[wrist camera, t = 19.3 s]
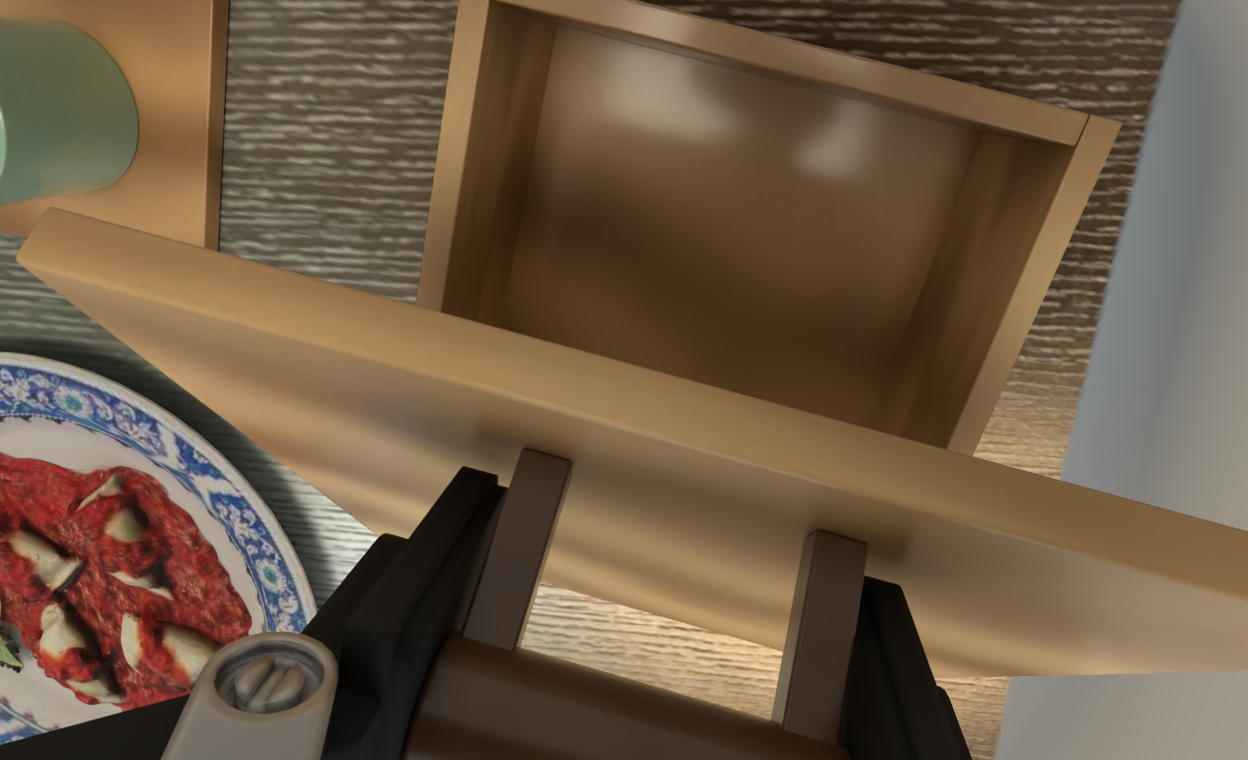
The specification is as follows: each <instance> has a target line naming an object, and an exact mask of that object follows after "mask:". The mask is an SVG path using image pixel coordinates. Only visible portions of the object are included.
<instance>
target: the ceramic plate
mask: <svg viewBox="0 0 1248 760" xmlns="http://www.w3.org/2000/svg"><path fill="white" fill-rule="evenodd" d="M316 614H317V608H316V604H315V601H314V597H313V593H312V590H311V587H310V585H309V582H308V579H307V577H306V574H305V571H304V569H303V567H302V564H301V562H300V560H299V558H298V556H297V554H296V552H295V550H294V548H293V546H292V544H291V542H290V541H289V539H288V537H287V536H286V534H285V532H284V531H283V529H282V528H281V526H280V524H279V523H278V521H277V519H276V518H275V516H274V514H273V513H272V511H271V510H270V508H269V507H268V506H267V505H266V503H265V502H264V501H263V500H262V498H261V497H260V496H259V495H258V493H257V492H256V491H255V490H254V489H253V487H252V486H251V485H250V484H249V482H248V481H247V480H246V479H245V478H244V476H243V475H242V474H241V473H240V472H239V471H238V470H237V469H236V468H235V467H234V466H233V465H232V464H231V463H230V462H229V461H228V460H227V459H226V458H225V457H224V456H223V455H222V454H221V453H220V452H219V451H218V450H217V449H216V448H215V447H213V446H212V445H211V444H210V443H209V442H208V441H207V440H205V439H204V438H203V437H202V436H201V435H200V434H199V433H197V432H196V431H195V430H193V429H192V428H191V427H189V426H188V425H187V424H185V423H184V422H183V421H181V420H180V419H179V418H177V417H176V416H175V415H173V414H172V413H170V412H168V411H167V410H165V409H164V408H162V407H161V406H159V405H157V404H156V403H154V402H153V401H151V400H150V399H148V398H146V397H144V396H142V395H141V394H139V393H137V392H135V391H133V390H131V389H129V388H127V387H126V386H124V385H122V384H120V383H117V382H115V381H113V380H111V379H108V378H106V377H104V376H101V375H99V374H97V373H94V372H92V371H89V370H86V369H83V368H80V367H77V366H74V365H71V364H68V363H65V362H61V361H56V360H52V359H48V358H44V357H40V356H34V355H27V354H21V353H14V352H0V745H1V744H5V743H8V742H12V741H16V740H19V739H23V738H27V737H31V736H34V735H38V734H42V733H45V732H49V731H53V730H57V729H60V728H64V727H68V726H72V725H75V724H79V723H83V722H86V721H90V720H94V719H98V718H101V717H105V716H109V715H112V714H116V713H120V712H124V711H127V710H131V709H135V708H138V707H142V706H146V705H150V704H153V703H157V702H161V701H164V700H168V699H172V698H176V697H179V696H183V695H187V694H191V692H192V689H193V687H194V685H195V683H196V681H197V678H198V676H199V674H200V672H201V670H202V669H203V667H204V666H205V664H206V663H207V661H208V660H209V659H210V657H211V656H212V655H214V654H215V653H216V652H218V651H219V650H220V649H221V648H223V647H224V646H225V645H227V644H229V643H231V642H234V641H236V640H238V639H240V638H243V637H245V636H249V635H254V634H258V633H263V632H280V631H287V632H292V633H298V634H300V633H301V632H302V631H303V630H304V628H305V627H306V626H307V625H308V623H309V622H310V621H311V620H312V618H313V617H314V616H315V615H316Z"/></svg>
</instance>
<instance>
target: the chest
mask: <svg viewBox="0 0 1248 760" xmlns="http://www.w3.org/2000/svg"><path fill="white" fill-rule="evenodd" d="M1121 125H1122V122H1121V121H1117V120H1113V119H1109V118H1105V117H1101V116H1097V115H1093V114H1086V113H1084V112H1080V111H1076V110H1072V109H1068V108H1064V107H1060V106H1056V105H1052V104H1048V103H1044V102H1040V101H1036V100H1032V99H1028V98H1025V97H1021V96H1017V95H1013V94H1009V93H1005V92H1001V91H997V90H993V89H989V88H985V87H981V86H977V85H973V84H969V83H965V82H961V81H957V80H953V79H949V78H945V77H941V76H937V75H933V74H929V73H925V72H921V71H917V70H913V69H909V68H905V67H901V66H897V65H893V64H889V63H885V62H881V61H877V60H873V59H869V58H865V57H861V56H857V55H853V54H849V53H845V52H841V51H837V50H833V49H829V48H825V47H821V46H817V45H813V44H809V43H805V42H801V41H797V40H793V39H789V38H785V37H781V36H777V35H773V34H769V33H765V32H761V31H757V30H753V29H749V28H745V27H741V26H737V25H733V24H729V23H725V22H721V21H717V20H713V19H709V18H705V17H701V16H697V15H693V14H689V13H685V12H681V11H677V10H673V9H669V8H665V7H662V6H658V5H654V4H650V3H646V2H642V1H638V0H459V5H458V12H457V19H456V26H455V33H454V40H453V47H452V54H451V61H450V68H449V75H448V82H447V89H446V96H445V104H444V111H443V118H442V125H441V132H440V139H439V146H438V153H437V160H436V167H435V174H434V181H433V188H432V195H431V202H430V209H429V216H428V223H427V230H426V237H425V244H424V251H423V258H422V265H421V272H420V279H419V286H418V293H417V300H416V306H420V307H424V308H427V309H431V310H435V311H438V312H442V313H446V314H449V315H453V316H457V317H460V318H464V319H468V320H471V321H475V322H479V323H483V324H486V325H490V326H494V327H497V328H501V329H505V330H508V331H512V332H516V333H519V334H523V335H527V336H530V337H534V338H538V339H541V340H545V341H549V342H552V343H556V344H560V345H563V346H567V347H571V348H574V349H578V350H582V351H586V352H589V353H593V354H597V355H600V356H604V357H608V358H611V359H615V360H619V361H622V362H626V363H630V364H633V365H637V366H641V367H644V368H648V369H652V370H655V371H659V372H663V373H666V374H670V375H674V376H678V377H681V378H685V379H689V380H692V381H696V382H700V383H703V384H707V385H711V386H714V387H718V388H722V389H725V390H729V391H733V392H736V393H740V394H744V395H747V396H751V397H755V398H758V399H762V400H766V401H770V402H773V403H777V404H781V405H784V406H788V407H792V408H795V409H799V410H803V411H806V412H810V413H814V414H817V415H821V416H825V417H828V418H832V419H836V420H839V421H843V422H847V423H850V424H854V425H858V426H862V427H865V428H869V429H873V430H876V431H880V432H884V433H887V434H891V435H895V436H898V437H902V438H906V439H909V440H913V441H917V442H920V443H924V444H928V445H931V446H935V447H939V448H942V449H946V450H950V451H953V452H957V453H961V454H965V455H968V456H973V454H974V452H975V450H976V447H977V445H978V443H979V441H980V438H981V436H982V434H983V432H984V430H985V427H986V425H987V423H988V421H989V418H990V416H991V414H992V412H993V410H994V407H995V405H996V403H997V401H998V399H999V396H1000V394H1001V392H1002V390H1003V387H1004V385H1005V383H1006V381H1007V379H1008V376H1009V374H1010V372H1011V370H1012V367H1013V365H1014V363H1015V361H1016V359H1017V356H1018V354H1019V352H1020V350H1021V347H1022V345H1023V343H1024V341H1025V339H1026V336H1027V334H1028V332H1029V330H1030V327H1031V325H1032V323H1033V321H1034V319H1035V316H1036V314H1037V312H1038V310H1039V307H1040V305H1041V303H1042V301H1043V299H1044V296H1045V294H1046V292H1047V290H1048V287H1049V285H1050V283H1051V281H1052V279H1053V276H1054V274H1055V272H1056V270H1057V268H1058V265H1059V263H1060V261H1061V259H1062V256H1063V254H1064V252H1065V250H1066V248H1067V245H1068V243H1069V241H1070V239H1071V236H1072V234H1073V232H1074V230H1075V228H1076V225H1077V223H1078V221H1079V219H1080V216H1081V214H1082V212H1083V210H1084V208H1085V205H1086V203H1087V201H1088V199H1089V196H1090V194H1091V192H1092V190H1093V188H1094V185H1095V183H1096V181H1097V179H1098V176H1099V174H1100V172H1101V170H1102V168H1103V165H1104V163H1105V161H1106V159H1107V156H1108V154H1109V152H1110V150H1111V148H1112V145H1113V143H1114V141H1115V139H1116V136H1117V134H1118V132H1119V130H1120V128H1121Z"/></svg>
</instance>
